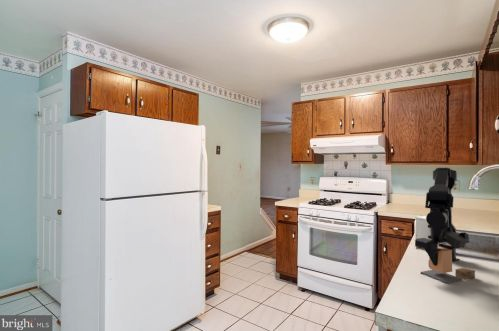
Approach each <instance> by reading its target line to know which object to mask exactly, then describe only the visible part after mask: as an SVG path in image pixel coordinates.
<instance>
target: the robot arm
mask: <svg viewBox="0 0 499 331" xmlns="http://www.w3.org/2000/svg"><path fill="white" fill-rule="evenodd" d="M432 180H433V181H434V183H433V185H432V186H430V187H429V188H428V192H426V194H425V195H426V196H425V206H424V208H425V209H429V212H428V213H427V215H426V216H427V217H426V221H427V223H428V224H429V225H428V228H431V235H428V238H429V239H427V238H418V239H416V240H415V239H414V247H417V246H418V248H420V247H421V249H424V251H425V252H426V254H427V255H428V258H429V257H430V259H431V261H432V263H433V265H435V266H437V263H438V252H440V251H441V250H442V249H439V248H438V246H439V247H443V248H447V249H450V250H452V262H457V261H460V258H457V249H461V248H465V247H466V244H468V243H470V237H469V234H468V233H467V232H465V231H463V232H460V233H459V232H457V228H456V227H455V225H454V223H453V216H452V215H453V214H452V211H453V210H452V208H454V196H453V194H452V190H453V188H454V187H455V186H456V182H457V181H458V173H457V171H456V170H454V169H451V167H436V168H435V169H434V170H432ZM430 239H431V240H430Z"/></svg>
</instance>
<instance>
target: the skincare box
mask: <svg viewBox="0 0 499 331" xmlns="http://www.w3.org/2000/svg"><path fill="white" fill-rule="evenodd" d="M426 217H427V215H419V216H415V219H416V223H415V222H414V241H415V240H416V239H418V238H427V239H429V238H428V235H431V228H428V225H429V224H428V223H427V221H426ZM430 240H431V239H430Z"/></svg>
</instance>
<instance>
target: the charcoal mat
mask: <svg viewBox="0 0 499 331" xmlns="http://www.w3.org/2000/svg"><path fill="white" fill-rule="evenodd" d="M420 274H421V275H424V276H427V277H429V278H431V279H434V280H436V281H439V282H441V283H445V284H452V283H457V282H461V281H463V279H462V278H459V277H456V275H453V274H450V273H449V272H447V273H440V272H437V271H435V270H432V269H429V270H423V271H420Z"/></svg>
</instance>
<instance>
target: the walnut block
mask: <svg viewBox="0 0 499 331" xmlns="http://www.w3.org/2000/svg"><path fill="white" fill-rule="evenodd" d="M454 272H455V276H456V277H459V278H462V280H464V281H469V280H473V279H476V274H475V273H476V270H473V269H471V268H467V267H461V268H460V267H459V268H456V269H455V271H454Z"/></svg>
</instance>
